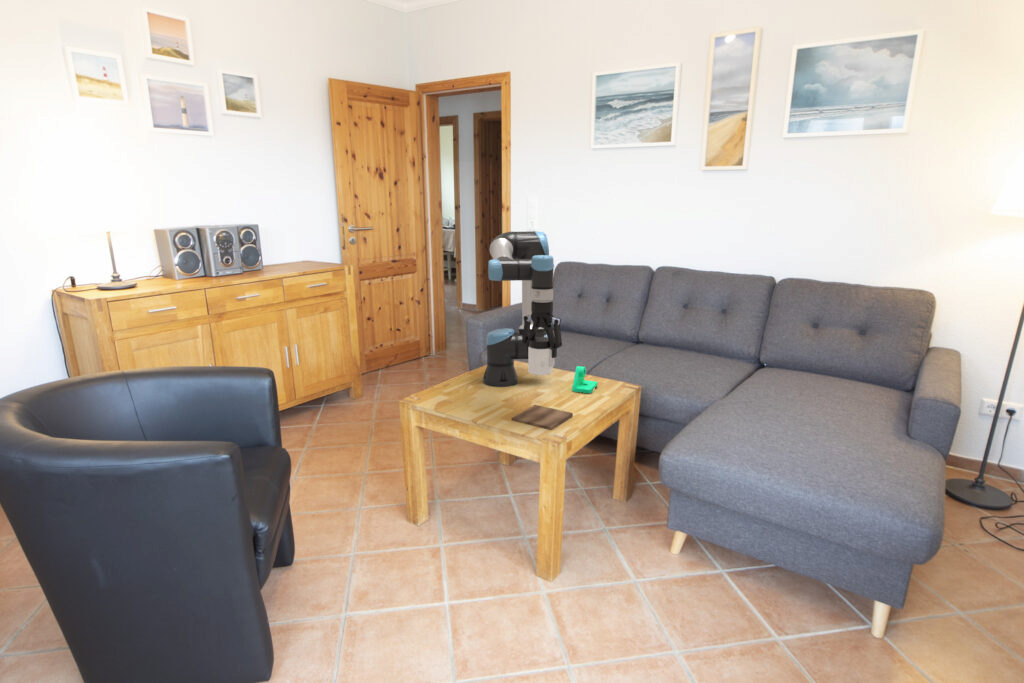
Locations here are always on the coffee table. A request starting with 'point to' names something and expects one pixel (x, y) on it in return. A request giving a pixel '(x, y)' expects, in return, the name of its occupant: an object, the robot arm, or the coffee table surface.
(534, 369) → the jar
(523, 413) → the plinth
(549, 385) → the coffee table surface
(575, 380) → the camera mount
